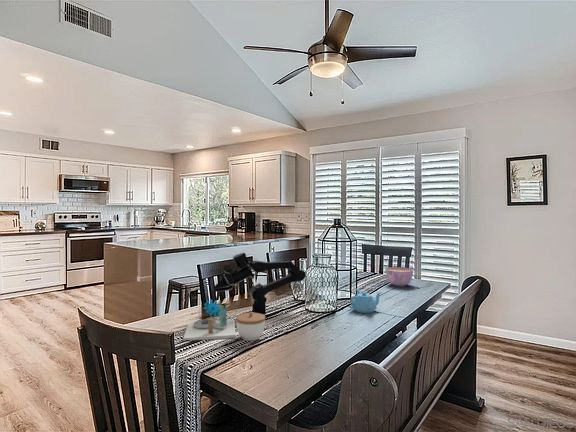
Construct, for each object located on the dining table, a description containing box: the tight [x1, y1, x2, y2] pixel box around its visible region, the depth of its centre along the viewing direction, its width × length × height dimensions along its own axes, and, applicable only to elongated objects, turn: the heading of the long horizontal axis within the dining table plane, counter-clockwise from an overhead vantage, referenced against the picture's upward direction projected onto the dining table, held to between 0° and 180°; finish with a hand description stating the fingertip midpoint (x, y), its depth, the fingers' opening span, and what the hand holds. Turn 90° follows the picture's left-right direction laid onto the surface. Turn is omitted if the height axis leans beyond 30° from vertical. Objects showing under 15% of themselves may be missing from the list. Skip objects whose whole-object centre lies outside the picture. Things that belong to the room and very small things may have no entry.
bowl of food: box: [384, 266, 414, 287], centre depth 262 cm, size 20×20×12 cm
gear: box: [203, 299, 225, 318], centre depth 191 cm, size 11×6×10 cm
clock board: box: [182, 317, 236, 342], centre depth 165 cm, size 22×22×7 cm
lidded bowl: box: [235, 311, 266, 342], centre depth 156 cm, size 13×13×11 cm
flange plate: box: [194, 307, 228, 329], centre depth 167 cm, size 16×10×9 cm, turn 65°
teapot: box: [349, 288, 382, 314], centre depth 198 cm, size 15×15×10 cm
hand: (213, 289), depth 185 cm, fingers open, 9 cm apart
